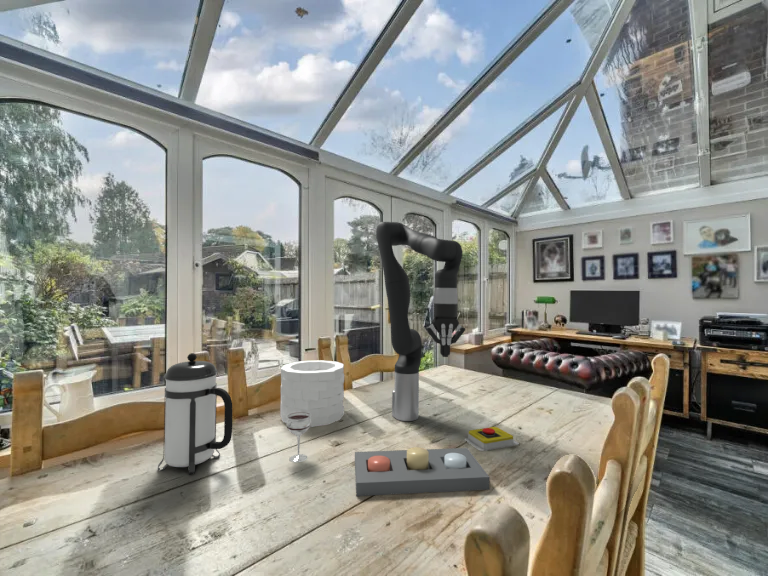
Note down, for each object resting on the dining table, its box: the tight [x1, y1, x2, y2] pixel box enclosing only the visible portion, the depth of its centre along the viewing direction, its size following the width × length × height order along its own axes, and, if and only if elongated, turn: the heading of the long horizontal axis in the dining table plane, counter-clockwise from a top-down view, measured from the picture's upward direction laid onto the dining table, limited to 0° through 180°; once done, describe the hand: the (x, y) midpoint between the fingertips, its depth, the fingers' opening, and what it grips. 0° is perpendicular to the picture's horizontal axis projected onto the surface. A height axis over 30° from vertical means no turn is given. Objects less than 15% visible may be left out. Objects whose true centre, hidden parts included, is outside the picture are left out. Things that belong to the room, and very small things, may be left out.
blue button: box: [444, 453, 466, 469], centre depth 92 cm, size 6×6×4 cm
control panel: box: [354, 447, 490, 497], centre depth 91 cm, size 32×16×3 cm, turn 96°
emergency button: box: [464, 426, 520, 452], centre depth 112 cm, size 9×4×15 cm
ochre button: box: [406, 446, 429, 470], centre depth 91 cm, size 6×6×4 cm
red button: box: [367, 456, 390, 472], centre depth 90 cm, size 6×6×4 cm
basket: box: [279, 359, 345, 428], centre depth 135 cm, size 25×24×19 cm
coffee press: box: [157, 353, 234, 476], centre depth 96 cm, size 17×16×30 cm
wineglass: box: [286, 412, 311, 463], centre depth 100 cm, size 7×7×12 cm
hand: (445, 356), depth 113 cm, fingers closed
